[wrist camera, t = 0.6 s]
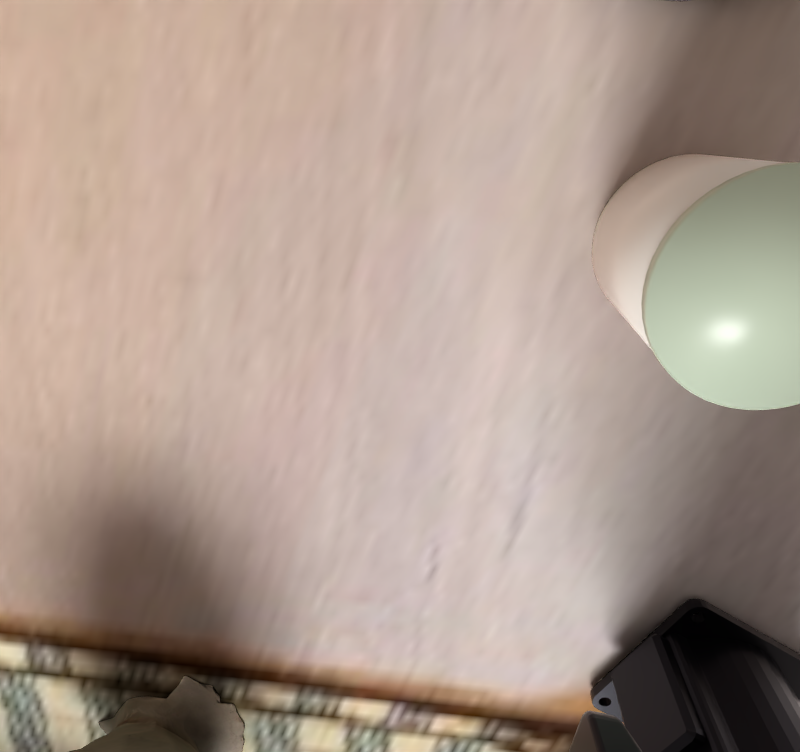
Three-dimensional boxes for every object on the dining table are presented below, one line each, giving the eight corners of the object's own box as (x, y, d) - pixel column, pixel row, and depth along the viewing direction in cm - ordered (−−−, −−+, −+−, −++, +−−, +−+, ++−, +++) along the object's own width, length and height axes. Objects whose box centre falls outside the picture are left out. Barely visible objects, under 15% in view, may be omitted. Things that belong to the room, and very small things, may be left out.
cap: (811, 213, 17) (983, 253, 11) (689, 355, 19) (783, 449, 13) (666, 115, 16) (772, 107, 11) (555, 272, 18) (596, 334, 13)
